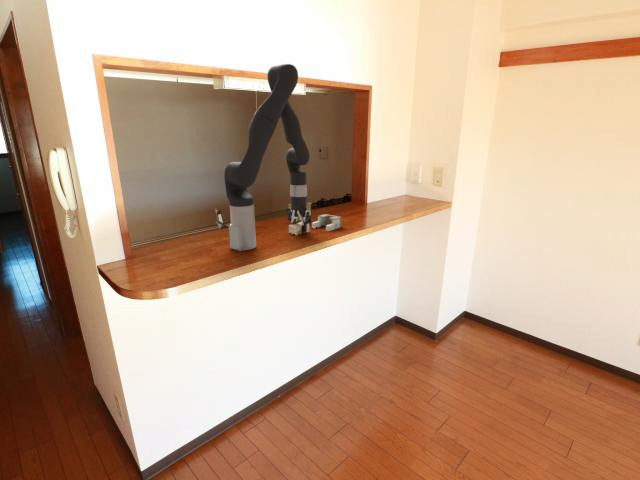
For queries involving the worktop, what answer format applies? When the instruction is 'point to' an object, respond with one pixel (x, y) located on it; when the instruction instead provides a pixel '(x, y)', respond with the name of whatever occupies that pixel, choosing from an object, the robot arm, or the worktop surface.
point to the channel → (328, 222)
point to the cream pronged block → (297, 228)
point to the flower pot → (307, 209)
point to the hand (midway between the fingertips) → (299, 231)
